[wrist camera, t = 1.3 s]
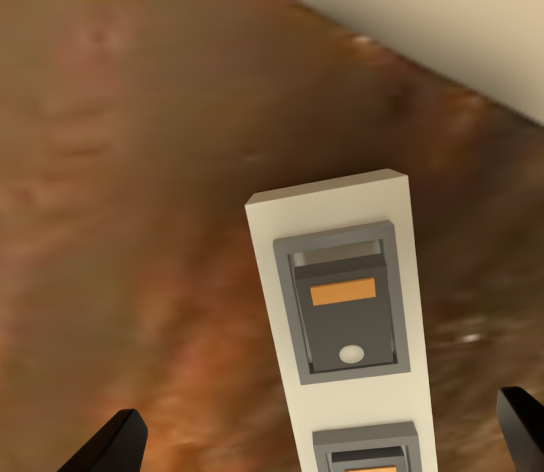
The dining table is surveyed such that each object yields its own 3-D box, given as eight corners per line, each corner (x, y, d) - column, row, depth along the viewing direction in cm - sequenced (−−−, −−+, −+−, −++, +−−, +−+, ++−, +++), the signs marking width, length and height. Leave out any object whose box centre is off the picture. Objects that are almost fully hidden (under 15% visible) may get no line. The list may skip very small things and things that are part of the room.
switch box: (424, 490, 27) (451, 567, 22) (317, 499, 28) (321, 575, 23) (387, 168, 21) (414, 177, 16) (254, 193, 22) (241, 209, 17)
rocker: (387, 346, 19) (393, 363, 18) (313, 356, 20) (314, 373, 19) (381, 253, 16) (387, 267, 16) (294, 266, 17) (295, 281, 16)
